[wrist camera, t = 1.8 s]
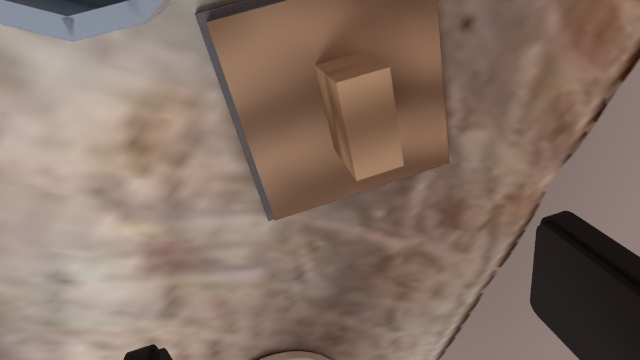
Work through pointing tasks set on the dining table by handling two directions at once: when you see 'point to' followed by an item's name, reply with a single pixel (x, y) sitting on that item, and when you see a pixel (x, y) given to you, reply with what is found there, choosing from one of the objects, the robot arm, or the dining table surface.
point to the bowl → (77, 16)
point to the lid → (335, 94)
